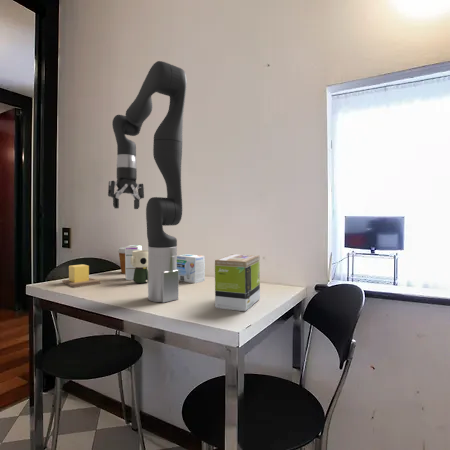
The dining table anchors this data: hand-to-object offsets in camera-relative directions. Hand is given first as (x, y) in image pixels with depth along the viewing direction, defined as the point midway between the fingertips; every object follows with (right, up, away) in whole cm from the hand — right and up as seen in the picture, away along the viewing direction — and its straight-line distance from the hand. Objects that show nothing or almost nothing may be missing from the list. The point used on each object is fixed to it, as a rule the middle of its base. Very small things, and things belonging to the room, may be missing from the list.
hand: (126, 208), depth 123 cm
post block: (-19, -30, +2) cm, 36 cm away
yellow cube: (-20, -29, +3) cm, 35 cm away
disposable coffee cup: (-8, -30, +27) cm, 41 cm away
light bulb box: (+24, -30, +9) cm, 40 cm away
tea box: (+43, -31, -25) cm, 59 cm away
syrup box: (-1, -30, +12) cm, 32 cm away
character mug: (+5, -30, +4) cm, 31 cm away
